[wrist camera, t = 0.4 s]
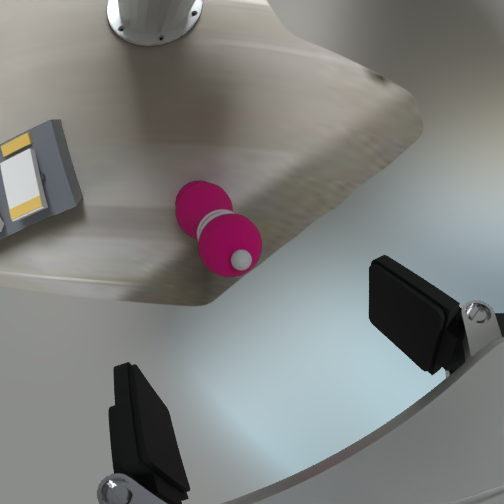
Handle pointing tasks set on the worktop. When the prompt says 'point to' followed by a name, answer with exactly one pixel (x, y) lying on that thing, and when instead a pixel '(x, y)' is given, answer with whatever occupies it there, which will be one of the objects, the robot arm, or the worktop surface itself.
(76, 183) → the switch unit
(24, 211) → the switch
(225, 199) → the pepper mill
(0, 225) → the switch
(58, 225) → the worktop surface
